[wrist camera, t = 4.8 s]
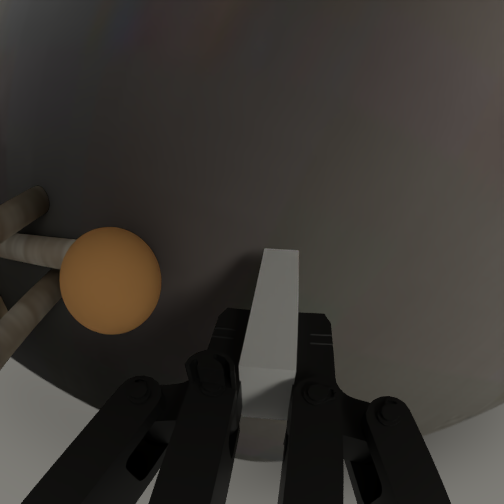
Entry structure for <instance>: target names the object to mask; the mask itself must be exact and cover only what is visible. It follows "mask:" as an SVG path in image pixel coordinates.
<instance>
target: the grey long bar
mask: <svg viewBox="0 0 504 504" xmlns="http://www.w3.org/2000/svg"><path fill="white" fill-rule="evenodd" d="M7 312H8V310H7V308H6V306H5V304H4V302H3V300H2V298H1V295H0V319H1V318H2V317H3V316H4V315H5V314H6V313H7Z"/></svg>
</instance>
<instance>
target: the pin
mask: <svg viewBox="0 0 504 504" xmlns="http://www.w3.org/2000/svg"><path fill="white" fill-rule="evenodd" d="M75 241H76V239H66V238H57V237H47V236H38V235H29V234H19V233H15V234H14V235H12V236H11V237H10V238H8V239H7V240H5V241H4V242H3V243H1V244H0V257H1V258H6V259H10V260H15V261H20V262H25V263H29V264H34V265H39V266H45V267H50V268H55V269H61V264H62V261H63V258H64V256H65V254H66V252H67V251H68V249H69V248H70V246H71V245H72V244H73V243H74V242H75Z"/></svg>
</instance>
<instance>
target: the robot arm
mask: <svg viewBox="0 0 504 504" xmlns="http://www.w3.org/2000/svg"><path fill="white" fill-rule="evenodd" d="M298 295H299V250H285V249H268V248H264V253H263V257H262V262H261V267H260V271H259V276H258V280H257V285H256V290H255V294H254V299H253V303H252V308H251V310H245V309H233V308H227V309H226V310H225V311H224V312H223V313H222V314H221V315H220V316H219V317H218V320H217V323H216V326H215V329H214V332H213V335H212V338H211V341H210V344H209V347H208V350H205V351H201V352H198V353H196V354H194V355H193V356H191V357H190V358H189V359H188V361H187V362H186V364H185V367H186V371H187V375H188V379H189V381H187V382H184V383H180V384H172V385H159V384H158V382H157V381H155V380H154V379H153V378H151V377H147V376H135V377H133V378H130V379H128V380H127V381H125V382H124V383H123V384H122V385H121V386H120V387H119V388H118V389H117V391H116V392H115V393H114V394H113V395H112V396H111V398H110V399H109V400H108V401H107V402H106V403H105V405H104V406H103V407H102V408H101V409H100V410H99V412H98V413H97V414H96V415H95V416H94V417H93V419H92V420H91V421H90V422H89V423H88V424H87V426H86V427H85V428H84V429H83V430H82V431H81V433H80V434H79V435H78V436H77V437H76V438H75V440H74V441H73V442H72V443H71V444H70V445H69V447H68V448H67V449H66V450H65V451H64V453H63V454H62V455H61V456H60V458H58V460H57V461H56V462H55V463H54V464H53V466H52V467H51V468H50V469H49V471H48V472H47V473H46V474H45V475H44V476H43V478H42V479H41V480H40V481H39V483H38V484H37V485H36V486H35V487H34V488H33V489H32V491H31V492H30V493H29V494H28V496H27V497H26V498H25V499H24V500H23V502H22V503H21V504H136V502H137V500H138V499H139V498H140V496H141V495H142V494H143V492H144V491H145V489H146V488H147V486H148V485H149V483H150V482H151V481H152V479H153V478H154V476H155V475H156V473H157V472H158V470H159V469H160V471H159V474H158V477H157V479H156V483H155V486H154V489H153V492H152V495H151V498H150V501H149V504H225V502H226V497H227V493H228V487H229V483H230V478H231V473H232V468H233V463H234V458H235V453H236V448H237V443H238V438H239V432H240V427H239V422H240V417H241V412H242V416H245V417H254V418H264V419H276V420H287V429H286V434H285V439H284V444H283V445H284V453H283V462H282V471H281V480H280V489H279V497H278V504H343V459H344V460H345V464H346V467H347V470H348V474H349V477H350V480H351V484H352V487H353V490H354V494H355V497H356V501H357V504H451V502H450V500H449V497H448V495H447V492H446V490H445V488H444V485H443V483H442V480H441V478H440V475H439V473H438V471H437V469H436V466H435V464H434V462H433V459H432V457H431V455H430V453H429V450H428V448H427V446H426V444H425V442H424V439H423V437H422V435H421V433H420V431H419V429H418V427H417V424H416V422H415V420H414V418H413V416H412V414H411V412H410V410H409V408H408V407H407V406H406V404H405V403H404V402H403V401H401V400H399V399H398V398H395V397H390V396H385V397H379V398H377V399H375V400H373V401H372V402H371V403H369V402H365V401H361V400H358V399H355V398H352V397H349V396H348V395H346V394H345V393H343V391H342V390H341V389H340V388H339V387H338V385H337V383H336V379H335V366H334V353H333V346H332V345H333V342H332V331H331V323H330V322H329V320H328V319H327V317H326V316H325V314H317V313H299V312H298ZM160 467H161V468H160Z"/></svg>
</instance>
